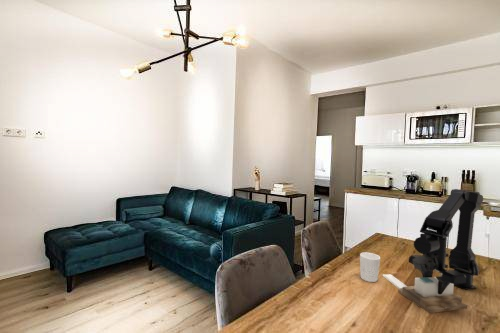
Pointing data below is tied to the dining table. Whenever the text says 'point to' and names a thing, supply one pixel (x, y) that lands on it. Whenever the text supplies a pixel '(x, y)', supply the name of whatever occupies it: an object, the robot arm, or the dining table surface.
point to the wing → (394, 281)
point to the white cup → (369, 266)
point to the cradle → (433, 301)
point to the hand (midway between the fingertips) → (433, 290)
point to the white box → (431, 287)
